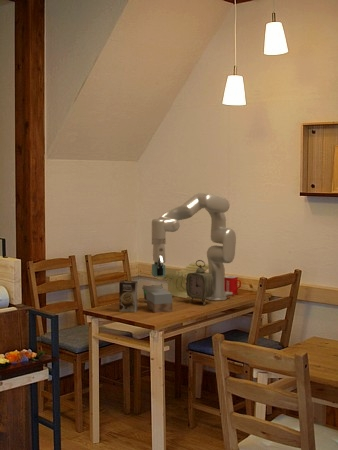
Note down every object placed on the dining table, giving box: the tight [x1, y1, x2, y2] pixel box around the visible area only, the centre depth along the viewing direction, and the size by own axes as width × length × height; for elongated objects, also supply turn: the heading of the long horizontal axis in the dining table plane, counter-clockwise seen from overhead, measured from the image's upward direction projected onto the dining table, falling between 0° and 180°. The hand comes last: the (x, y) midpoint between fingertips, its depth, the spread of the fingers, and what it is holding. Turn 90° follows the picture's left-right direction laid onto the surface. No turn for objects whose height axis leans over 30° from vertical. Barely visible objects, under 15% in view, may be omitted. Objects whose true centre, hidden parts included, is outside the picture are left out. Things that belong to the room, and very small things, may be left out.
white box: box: [146, 288, 173, 304], centre depth 362 cm, size 10×16×5 cm, turn 18°
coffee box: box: [118, 280, 138, 313], centre depth 358 cm, size 9×6×16 cm
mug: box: [225, 275, 242, 296], centre depth 405 cm, size 12×8×11 cm
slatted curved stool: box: [156, 262, 209, 299], centre depth 404 cm, size 30×16×18 cm, turn 136°
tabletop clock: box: [185, 259, 214, 306], centre depth 378 cm, size 14×9×25 cm, turn 45°
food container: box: [141, 283, 164, 304], centre depth 381 cm, size 12×6×10 cm, turn 112°
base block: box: [146, 299, 173, 314], centre depth 363 cm, size 10×16×5 cm, turn 16°
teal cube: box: [151, 263, 166, 278], centre depth 361 cm, size 6×6×6 cm
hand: (158, 274), depth 361 cm, fingers closed on teal cube, 6 cm apart
